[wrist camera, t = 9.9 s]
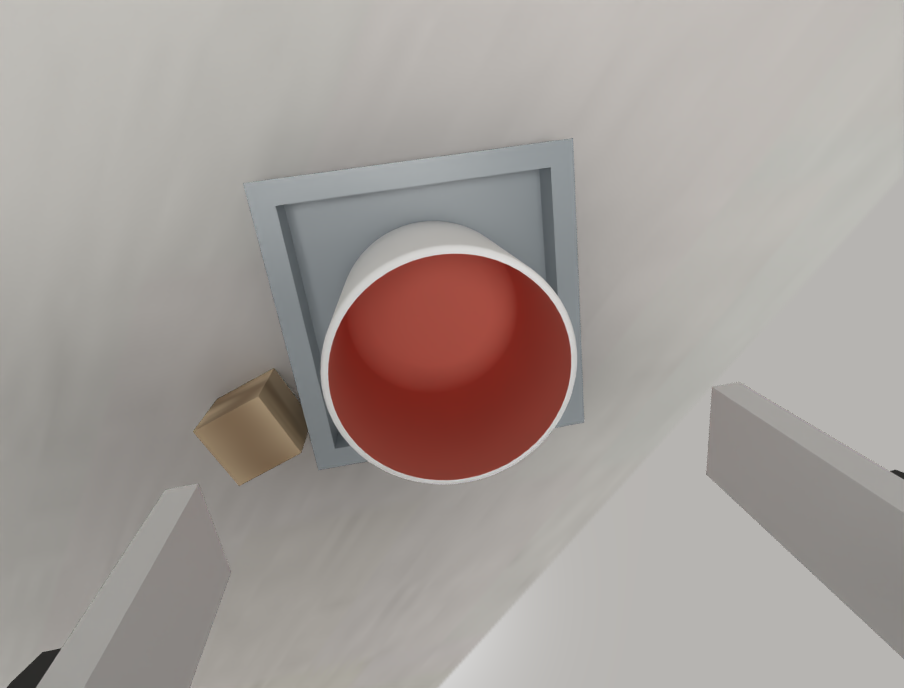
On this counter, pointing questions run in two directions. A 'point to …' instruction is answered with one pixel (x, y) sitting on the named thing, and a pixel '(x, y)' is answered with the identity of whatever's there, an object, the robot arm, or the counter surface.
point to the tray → (395, 205)
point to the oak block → (254, 427)
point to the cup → (446, 356)
